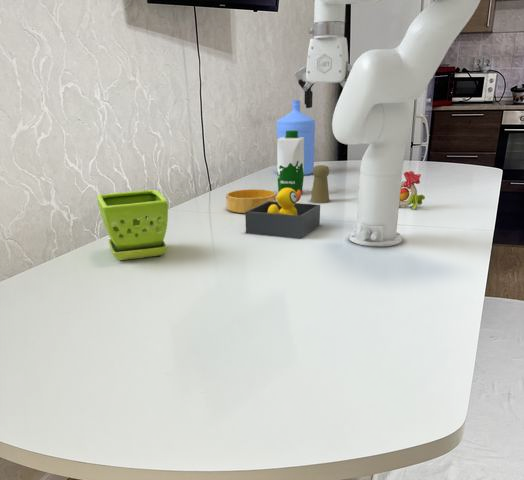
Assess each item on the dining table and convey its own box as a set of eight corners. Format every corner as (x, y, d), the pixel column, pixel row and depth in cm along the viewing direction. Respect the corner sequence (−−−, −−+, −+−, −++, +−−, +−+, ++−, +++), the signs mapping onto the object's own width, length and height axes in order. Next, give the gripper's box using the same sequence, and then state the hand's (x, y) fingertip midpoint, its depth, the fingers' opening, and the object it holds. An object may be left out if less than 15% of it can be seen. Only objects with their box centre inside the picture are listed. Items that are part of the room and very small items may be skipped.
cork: (307, 202, 169) (308, 166, 164) (315, 198, 174) (315, 163, 169) (325, 203, 166) (326, 167, 161) (332, 200, 171) (333, 164, 166)
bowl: (263, 215, 153) (263, 200, 150) (218, 212, 158) (217, 196, 156) (283, 205, 165) (283, 190, 163) (240, 202, 171) (240, 188, 169)
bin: (300, 238, 130) (301, 216, 127) (245, 233, 135) (245, 211, 133) (319, 225, 141) (320, 204, 139) (268, 221, 147) (267, 201, 144)
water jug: (320, 171, 225) (322, 99, 212) (302, 177, 213) (304, 101, 201) (288, 169, 233) (288, 99, 220) (270, 174, 221) (269, 101, 208)
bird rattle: (396, 216, 158) (425, 206, 153) (384, 180, 155) (414, 168, 150) (400, 212, 163) (429, 202, 158) (389, 177, 160) (418, 166, 155)
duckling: (292, 221, 143) (292, 184, 139) (307, 225, 140) (307, 186, 135) (262, 229, 136) (261, 189, 132) (276, 233, 133) (276, 192, 128)
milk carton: (304, 191, 185) (306, 130, 176) (300, 196, 178) (301, 132, 169) (280, 190, 187) (280, 130, 178) (275, 195, 180) (274, 132, 170)
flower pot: (104, 248, 125) (95, 193, 119) (162, 242, 129) (157, 189, 123) (111, 265, 113) (101, 205, 107) (174, 257, 117) (169, 199, 112)
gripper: (291, 32, 130) (290, 108, 138) (359, 29, 124) (354, 108, 132) (301, 34, 136) (300, 107, 144) (367, 31, 130) (362, 107, 138)
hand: (326, 107), depth 138 cm, fingers open, 9 cm apart
